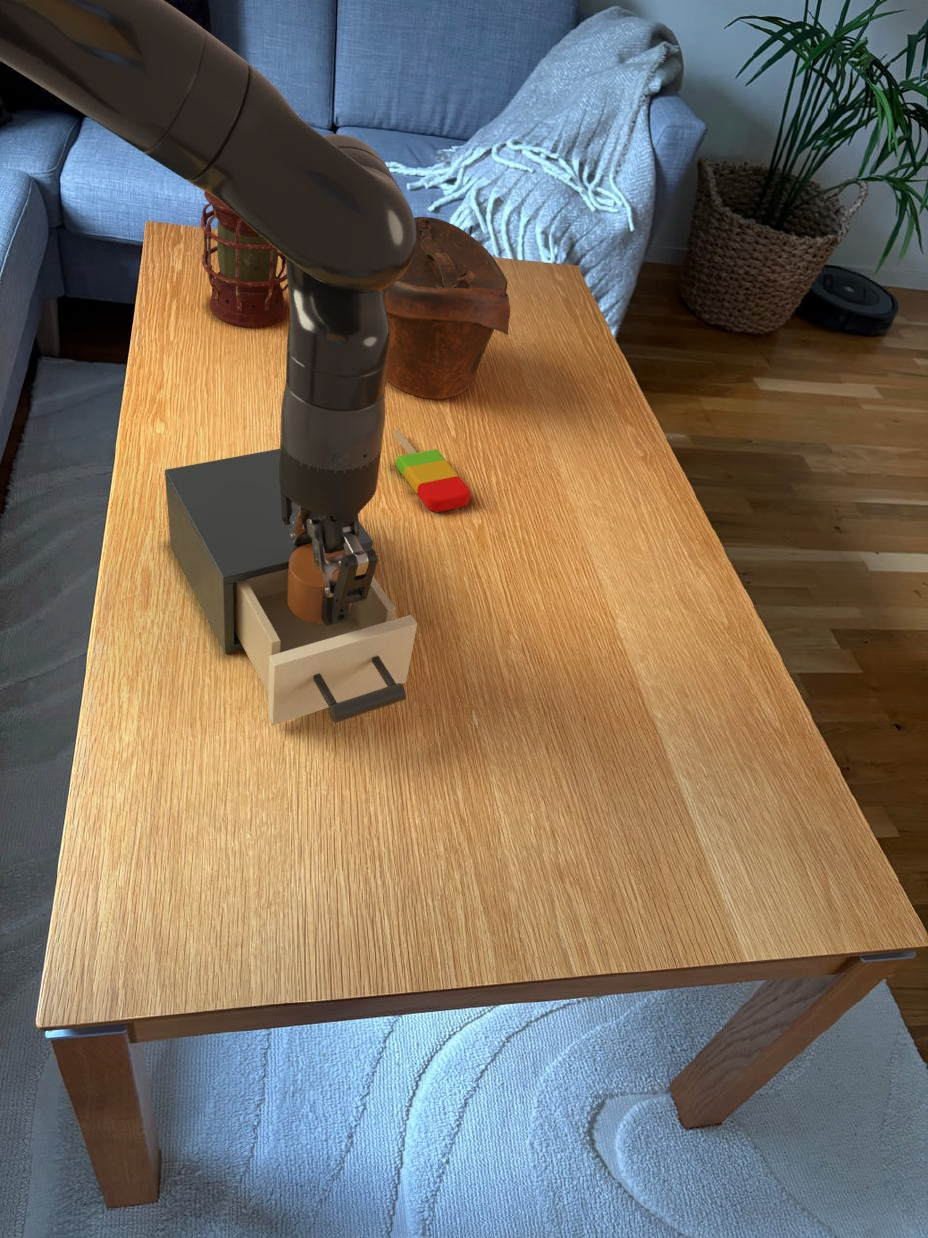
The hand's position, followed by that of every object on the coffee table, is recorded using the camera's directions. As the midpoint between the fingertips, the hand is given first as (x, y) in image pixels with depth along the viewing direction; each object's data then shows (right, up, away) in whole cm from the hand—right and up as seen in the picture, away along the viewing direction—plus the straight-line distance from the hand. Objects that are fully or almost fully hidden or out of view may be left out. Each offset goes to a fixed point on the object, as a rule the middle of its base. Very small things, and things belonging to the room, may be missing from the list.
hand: (319, 596), depth 80 cm
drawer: (-1, -6, +5) cm, 8 cm away
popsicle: (+8, +15, +30) cm, 34 cm away
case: (+8, +31, +45) cm, 55 cm away
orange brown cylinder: (0, 0, 0) cm, 0 cm away
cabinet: (-7, +2, +13) cm, 15 cm away
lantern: (-18, +41, +50) cm, 67 cm away
